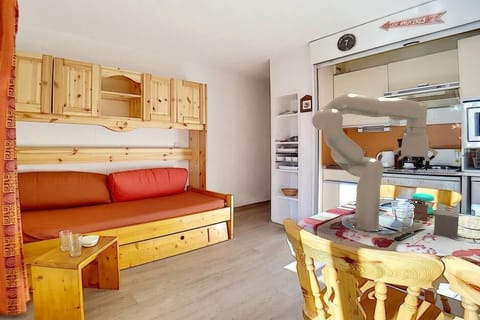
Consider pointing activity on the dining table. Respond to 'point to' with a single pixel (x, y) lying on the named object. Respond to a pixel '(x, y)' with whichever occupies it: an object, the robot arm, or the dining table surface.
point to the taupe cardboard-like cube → (446, 224)
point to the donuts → (424, 197)
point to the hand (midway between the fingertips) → (413, 169)
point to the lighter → (420, 209)
